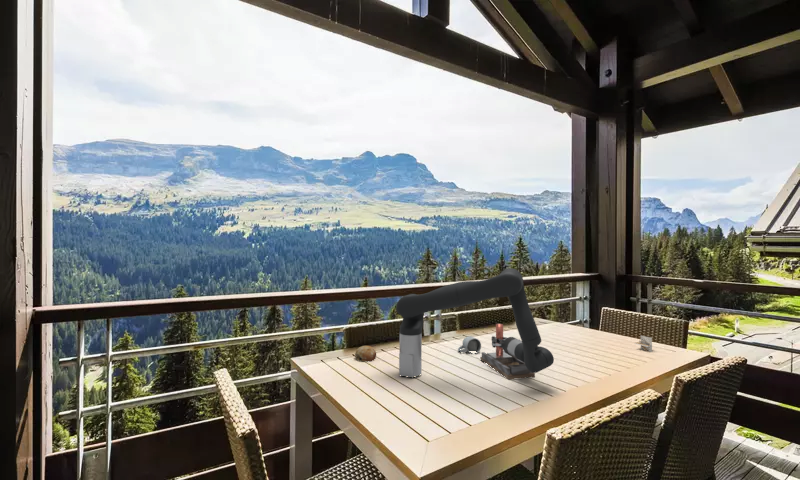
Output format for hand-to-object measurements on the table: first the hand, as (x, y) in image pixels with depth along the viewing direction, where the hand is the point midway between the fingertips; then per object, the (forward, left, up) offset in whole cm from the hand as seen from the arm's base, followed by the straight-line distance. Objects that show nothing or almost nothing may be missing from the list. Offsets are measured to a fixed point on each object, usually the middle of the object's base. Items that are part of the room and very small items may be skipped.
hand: (496, 338), depth 180 cm
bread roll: (-22, +57, -11) cm, 62 cm away
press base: (-7, -6, -11) cm, 14 cm away
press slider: (-2, -2, -9) cm, 10 cm away
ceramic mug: (+10, +16, -11) cm, 22 cm away
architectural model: (+53, -64, -12) cm, 84 cm away
